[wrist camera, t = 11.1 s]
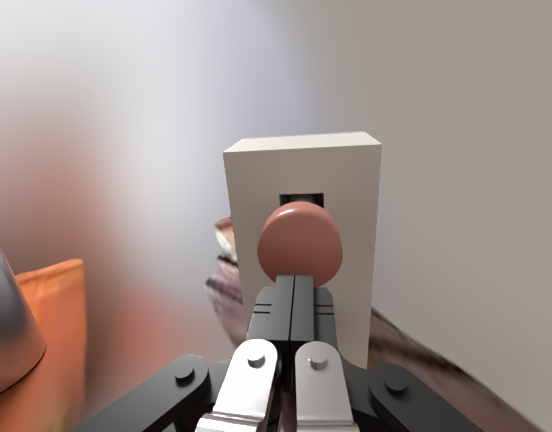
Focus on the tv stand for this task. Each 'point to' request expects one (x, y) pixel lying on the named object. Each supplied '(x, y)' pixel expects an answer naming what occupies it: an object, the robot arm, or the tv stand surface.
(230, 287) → the tv stand surface
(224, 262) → the tv stand surface
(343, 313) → the mount
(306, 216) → the knob
